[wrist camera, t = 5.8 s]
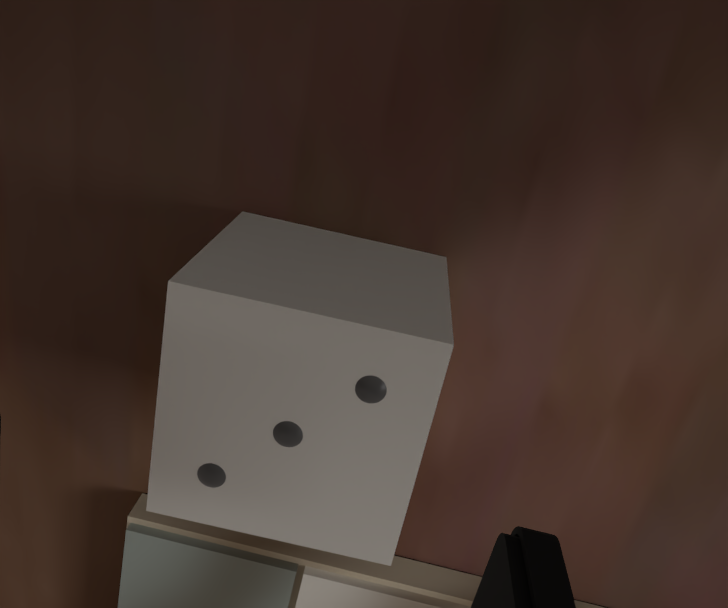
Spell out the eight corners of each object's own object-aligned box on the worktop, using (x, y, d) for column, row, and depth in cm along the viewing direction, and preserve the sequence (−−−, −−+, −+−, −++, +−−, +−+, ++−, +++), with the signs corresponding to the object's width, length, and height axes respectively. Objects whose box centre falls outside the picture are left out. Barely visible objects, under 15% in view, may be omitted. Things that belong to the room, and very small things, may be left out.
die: (446, 256, 16) (453, 347, 11) (399, 432, 18) (389, 574, 13) (238, 210, 16) (160, 281, 11) (214, 391, 18) (138, 516, 13)
